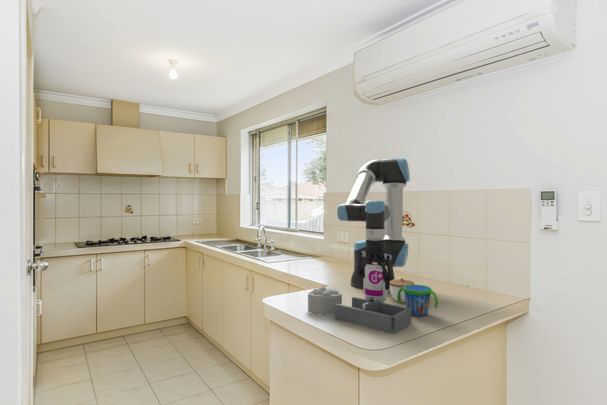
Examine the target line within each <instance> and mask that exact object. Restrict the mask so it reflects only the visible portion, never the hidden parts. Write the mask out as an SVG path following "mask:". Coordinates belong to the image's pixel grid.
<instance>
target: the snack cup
mask: <svg viewBox="0 0 607 405" xmlns="http://www.w3.org/2000/svg"><path fill="white" fill-rule="evenodd" d="M402 290H403V291H404V293H405V300H406V302H405V305H406V308H410V309H411V316H417V317H424V316H427V315H428V313H429V307H430V299H431V295H432V296H433V297H434V298H433V299H434V300H435V302H434V309H435V310H436V309H438V307H439V298H438V295H437V293H436V292H435V291H434V290H432V287H430V286H428V285H423V284H415V285H406V286H404V287H403V288H401V289H400V290H399V292H398V297H397V299H398V301H397V302H399V303H400V302H401V295H400V293H401V291H402ZM401 303H402V302H401Z"/></svg>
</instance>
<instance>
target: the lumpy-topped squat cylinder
mask: <svg viewBox="0 0 607 405" xmlns="http://www.w3.org/2000/svg"><path fill="white" fill-rule="evenodd" d="M342 297H343V294H342V293H341V292H339V290H338V289H336V288H333V287H329V288H328V287H325V286H321V287H318V288H314V289H313V290H312V291H309V292H308V293H307V312H308V311H309V312H311V313H310V314H312V313H314V314H313V315H318V314H322V315H321V316H328V315H329V316H330V315H335V304H336V303H337V304H341V305H343V304H342V303H343V302H342V301H343V298H342ZM309 312H308V313H309Z"/></svg>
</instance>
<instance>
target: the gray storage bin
mask: <svg viewBox="0 0 607 405" xmlns="http://www.w3.org/2000/svg"><path fill="white" fill-rule="evenodd" d="M366 302H368V300H367V299H365V298H360V297H356V296H352V297H351V306H349V305H345V304H342V305H341V304H337V303H336V304H335V314H334V320H337V321H341V322H345V323H349V324H353V325H355V326H357V325H358V326H360V327H364V328H367V327H368V328H369V329H371V328H372V329H371V330H376V331H379V332H383V331H384V333H388V334H390V333H391V334H392V335H395V334H397V333H399V332H400V331H403V330H404V329H405V328H408V327H409V326H410V325H411V324H412V315H411V309H410V308H407V306H406V307H405V306H400V305H396V304H390V303H385V302H383V303H381V302H379V313H376V312H372V311H368V310H363V309H362V304H364V303H366Z"/></svg>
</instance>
